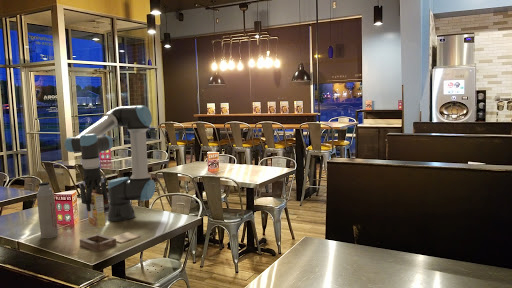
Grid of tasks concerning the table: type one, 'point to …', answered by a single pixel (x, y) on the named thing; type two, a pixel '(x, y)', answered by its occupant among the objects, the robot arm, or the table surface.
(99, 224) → the candy box
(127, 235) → the plate
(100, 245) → the collar
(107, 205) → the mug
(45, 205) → the thermos bottle
